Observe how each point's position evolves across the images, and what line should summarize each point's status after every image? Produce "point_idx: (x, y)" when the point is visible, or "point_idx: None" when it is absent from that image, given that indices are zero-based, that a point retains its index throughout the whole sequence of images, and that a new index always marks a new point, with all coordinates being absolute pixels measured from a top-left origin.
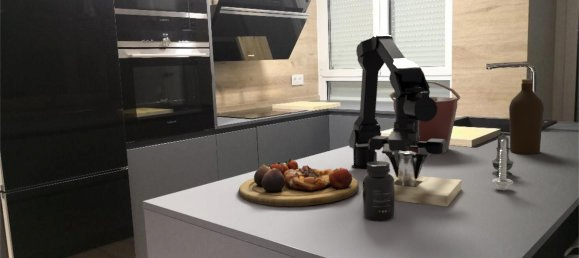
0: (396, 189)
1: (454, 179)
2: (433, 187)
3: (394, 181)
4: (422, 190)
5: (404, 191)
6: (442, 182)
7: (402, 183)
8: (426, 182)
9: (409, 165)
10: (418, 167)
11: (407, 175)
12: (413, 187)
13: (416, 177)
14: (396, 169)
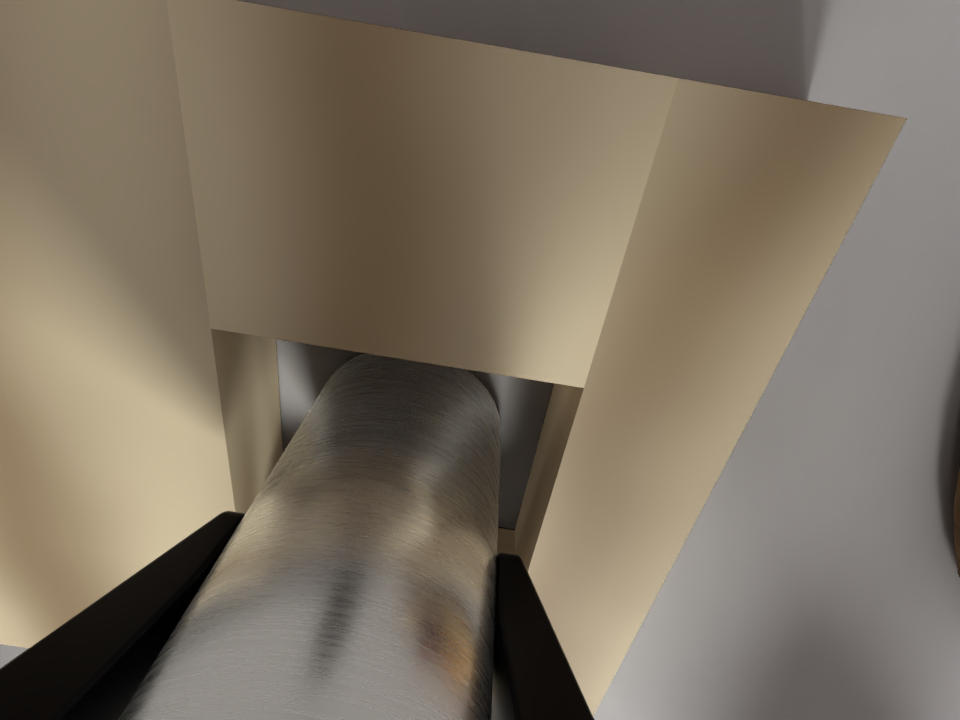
0: (456, 123)
1: (10, 640)
2: (9, 360)
3: (547, 521)
4: (45, 164)
5: (288, 13)
6: (43, 552)
7: (421, 422)
8: (190, 533)
9: (167, 707)
10: (30, 669)
11: (309, 507)
12: (239, 306)
13: (214, 521)
14: (517, 660)
